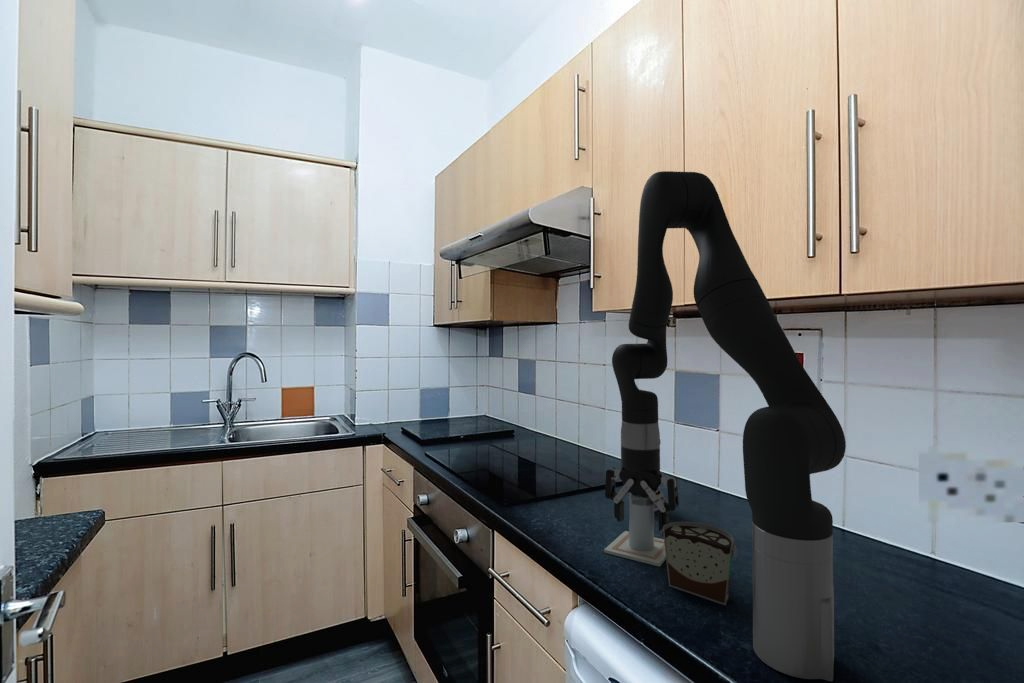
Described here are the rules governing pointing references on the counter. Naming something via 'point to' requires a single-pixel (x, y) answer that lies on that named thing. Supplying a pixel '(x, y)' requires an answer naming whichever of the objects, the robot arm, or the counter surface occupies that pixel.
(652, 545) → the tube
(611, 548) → the card
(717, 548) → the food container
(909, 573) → the counter surface
